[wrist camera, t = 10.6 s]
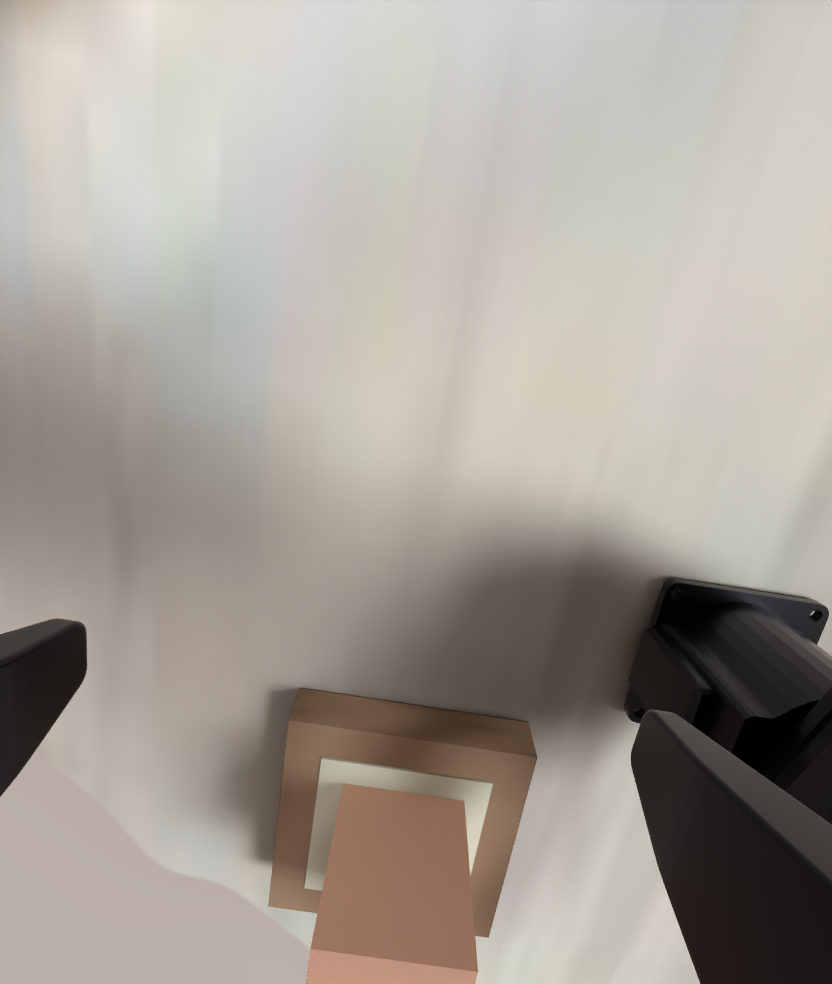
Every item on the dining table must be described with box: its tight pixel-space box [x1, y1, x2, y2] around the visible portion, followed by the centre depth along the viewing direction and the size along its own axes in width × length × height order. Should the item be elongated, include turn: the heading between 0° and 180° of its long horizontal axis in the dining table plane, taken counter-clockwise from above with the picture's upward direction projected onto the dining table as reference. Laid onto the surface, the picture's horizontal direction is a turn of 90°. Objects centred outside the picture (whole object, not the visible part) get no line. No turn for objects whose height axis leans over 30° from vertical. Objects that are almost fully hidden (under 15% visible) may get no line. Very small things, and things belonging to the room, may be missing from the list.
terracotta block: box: [306, 783, 478, 984], centre depth 19 cm, size 5×5×6 cm
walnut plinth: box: [268, 688, 537, 938], centre depth 23 cm, size 10×10×2 cm
